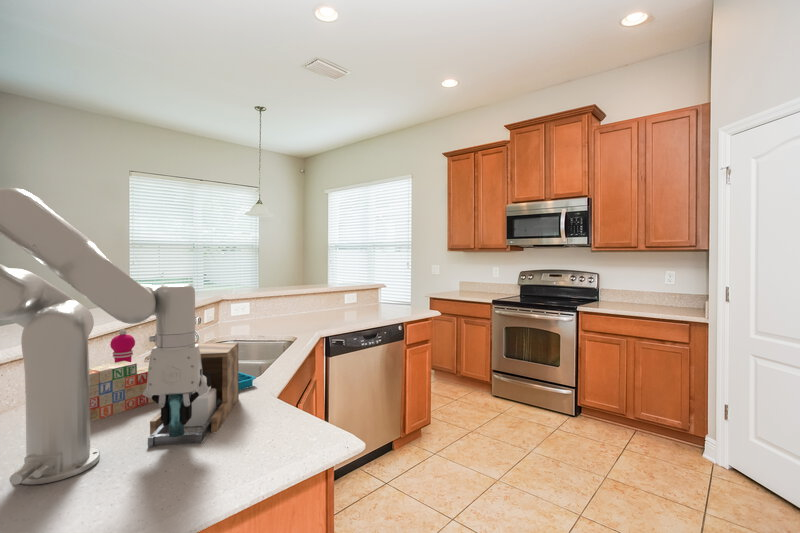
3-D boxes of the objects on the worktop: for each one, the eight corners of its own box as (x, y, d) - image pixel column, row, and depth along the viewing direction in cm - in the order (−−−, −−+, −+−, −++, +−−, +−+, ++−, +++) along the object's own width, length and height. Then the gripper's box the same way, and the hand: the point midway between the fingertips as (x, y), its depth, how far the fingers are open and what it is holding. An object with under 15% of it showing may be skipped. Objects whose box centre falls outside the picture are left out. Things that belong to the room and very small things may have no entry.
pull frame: (200, 444, 88) (200, 394, 88) (147, 448, 86) (146, 397, 86) (222, 412, 106) (222, 371, 106) (178, 415, 104) (178, 373, 104)
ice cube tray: (224, 375, 141) (224, 367, 141) (257, 386, 129) (257, 377, 129) (190, 383, 132) (190, 374, 132) (223, 396, 120) (223, 386, 120)
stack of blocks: (157, 394, 121) (156, 353, 121) (169, 397, 118) (169, 356, 118) (72, 418, 102) (72, 370, 102) (85, 423, 99) (84, 374, 99)
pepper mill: (142, 395, 119) (142, 328, 119) (115, 402, 113) (114, 332, 113) (130, 391, 123) (130, 326, 123) (103, 398, 117) (103, 329, 117)
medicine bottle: (187, 416, 104) (187, 370, 103) (216, 415, 105) (216, 369, 105) (177, 428, 97) (176, 378, 96) (208, 426, 98) (208, 377, 98)
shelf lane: (216, 432, 94) (216, 362, 94) (150, 436, 92) (149, 365, 92) (238, 398, 117) (238, 342, 117) (185, 401, 115) (185, 344, 114)
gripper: (126, 345, 83) (127, 432, 84) (211, 342, 86) (211, 427, 87) (142, 338, 91) (143, 418, 91) (220, 335, 94) (220, 413, 94)
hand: (176, 422), depth 89 cm, fingers closed on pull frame, 3 cm apart
